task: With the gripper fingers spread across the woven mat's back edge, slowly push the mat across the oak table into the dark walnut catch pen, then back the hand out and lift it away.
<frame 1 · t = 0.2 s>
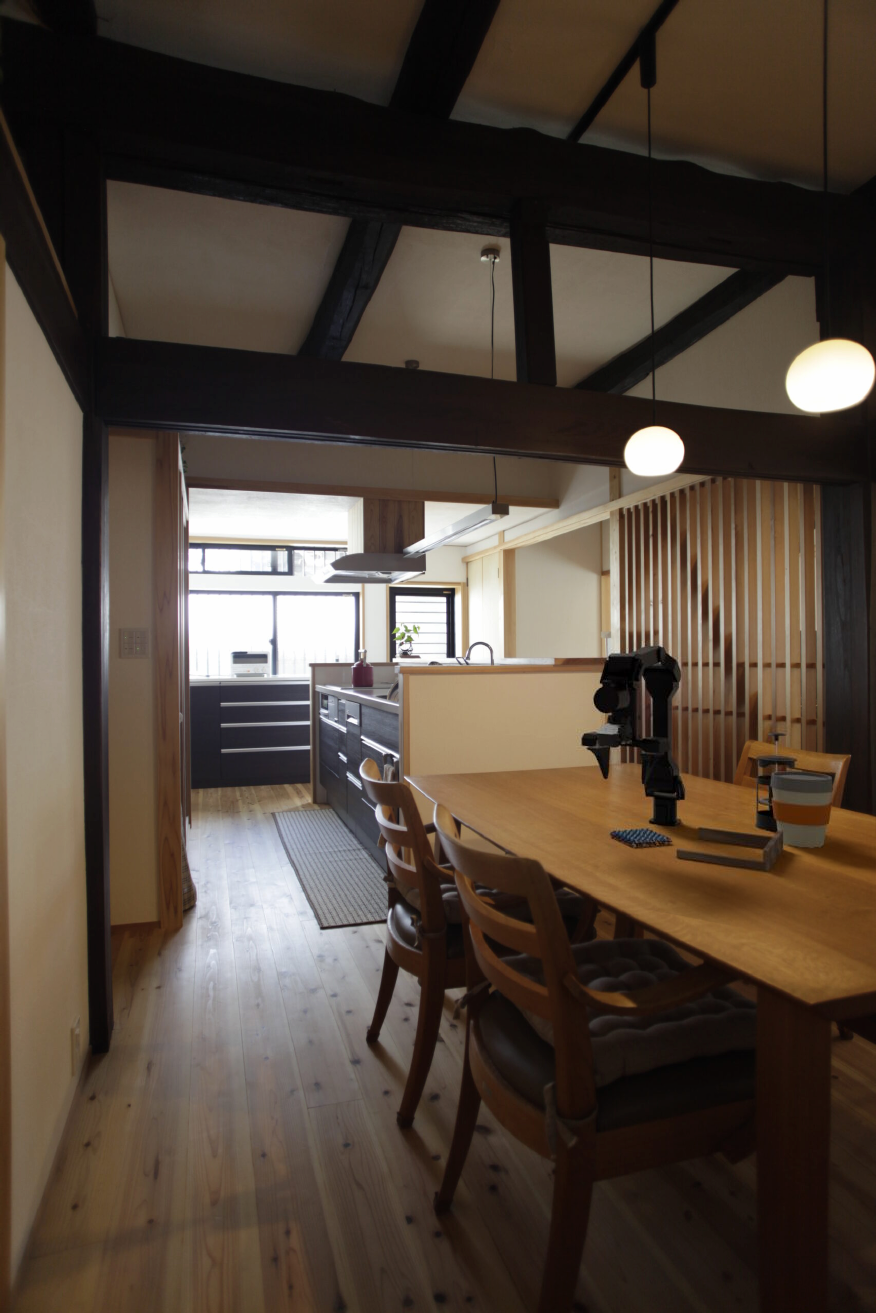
hand: (624, 781, 159), 14 cm above the table, tool pointing down, fingers open, 9 cm apart
reusable coffee cup: (801, 843, 162), on the table
woven mat: (640, 843, 164), on the table
french press: (776, 827, 177), on the table
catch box: (727, 852, 153), on the table
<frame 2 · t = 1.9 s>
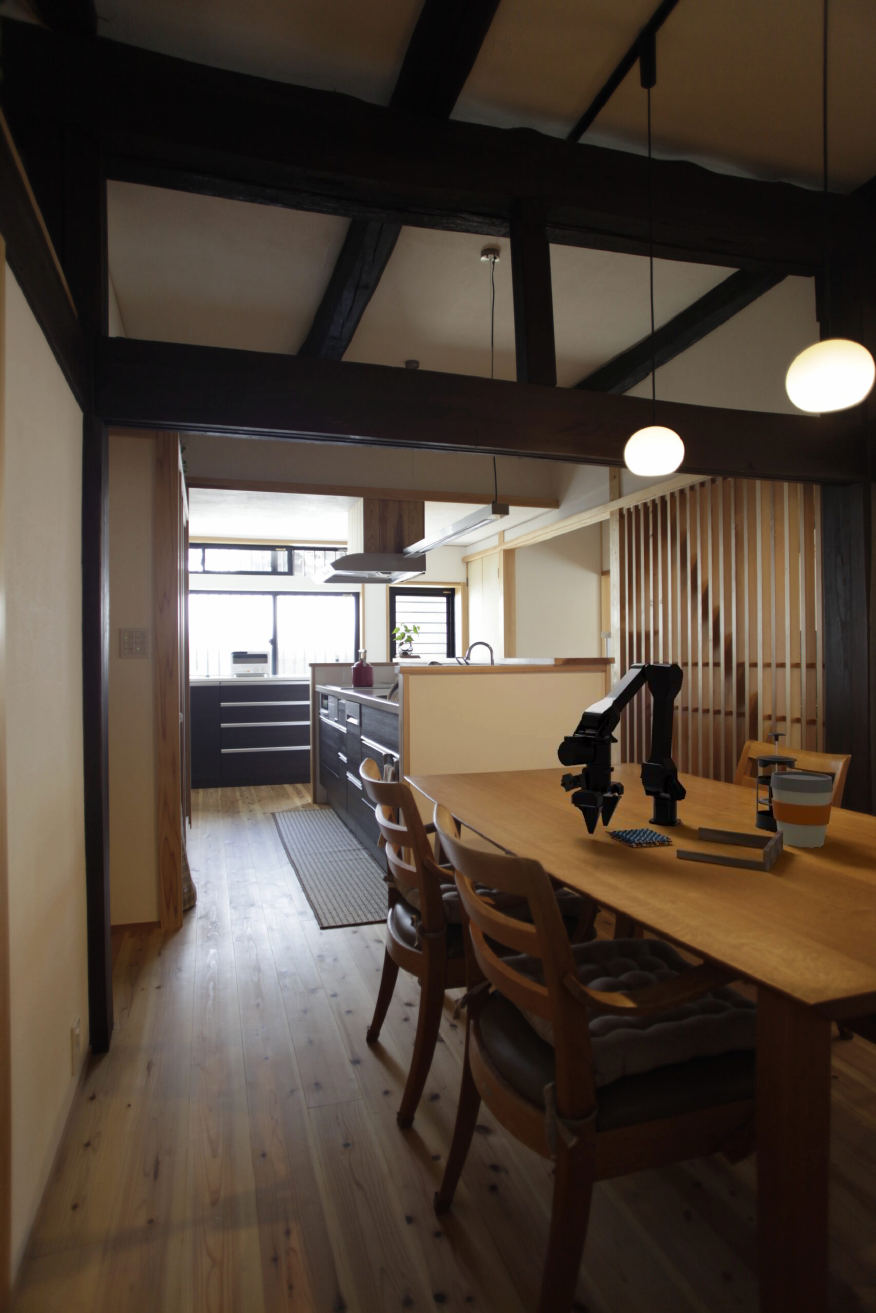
hand: (598, 829, 169), 1 cm above the table, tool pointing down, fingers open, 9 cm apart
nothing on the table moved.
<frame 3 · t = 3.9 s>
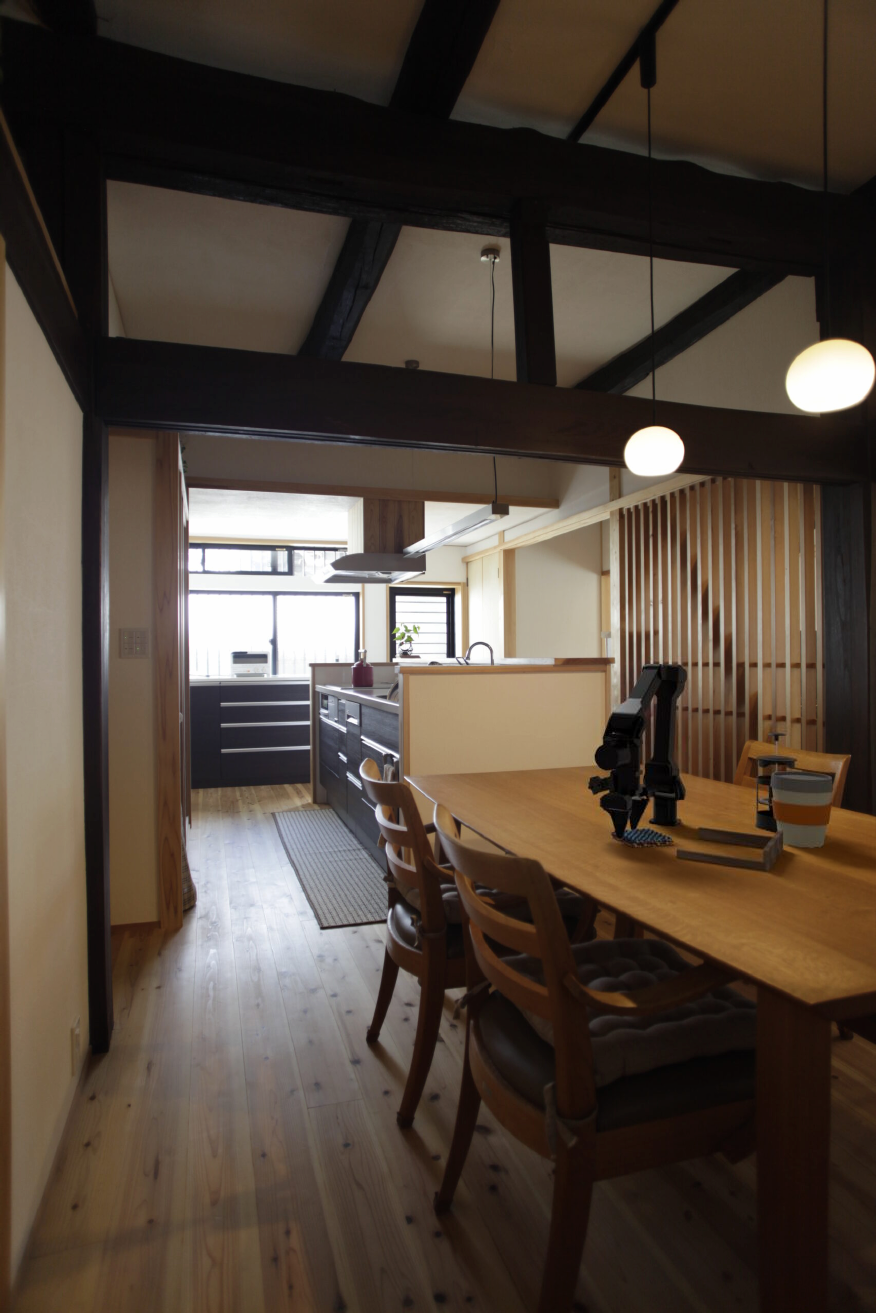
hand: (626, 833, 165), 1 cm above the table, tool pointing down, fingers open, 9 cm apart
woven mat: (641, 843, 163), on the table, touching gripper
everything else where it was.
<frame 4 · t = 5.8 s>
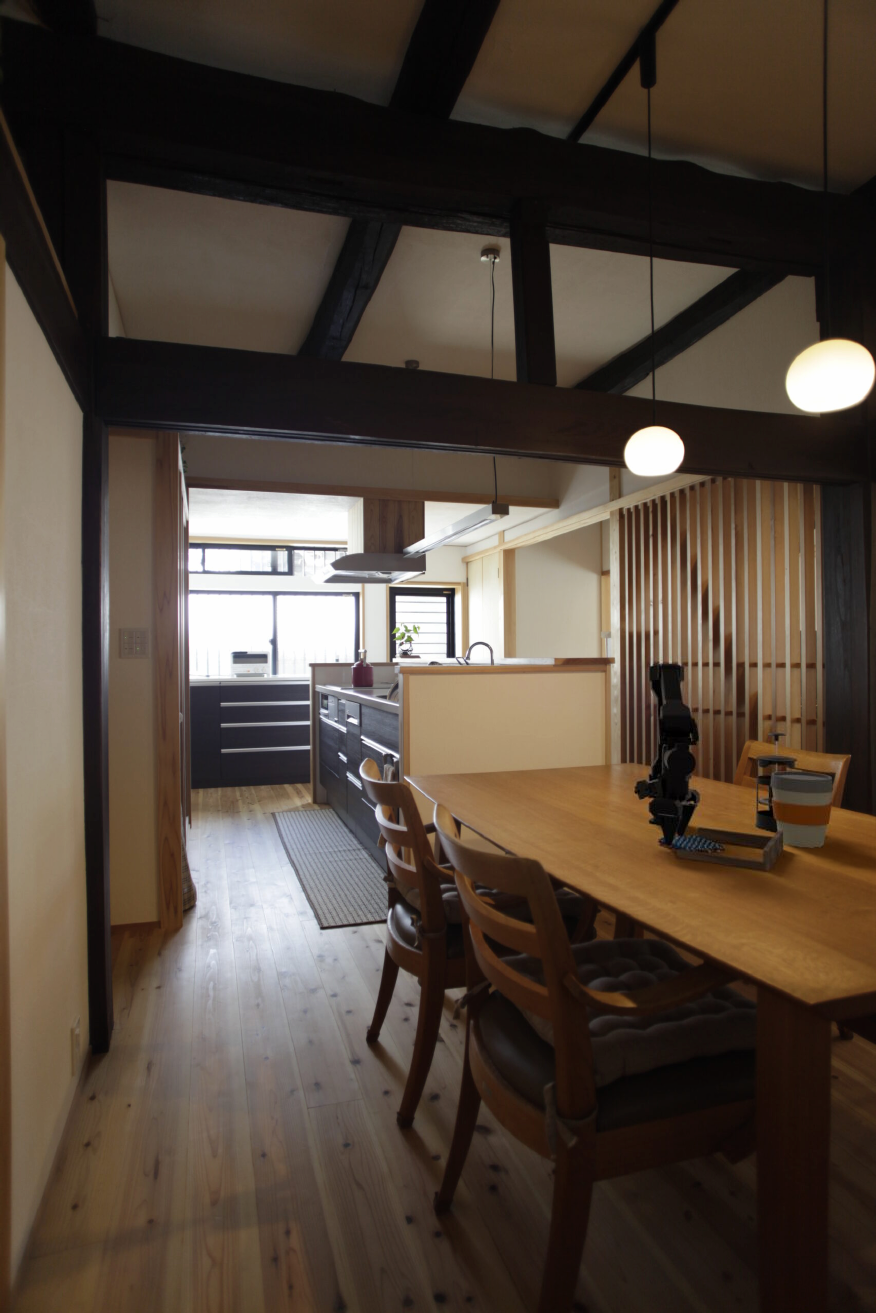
hand: (674, 840, 159), 1 cm above the table, tool pointing down, fingers open, 9 cm apart
woven mat: (690, 851, 157), on the table, touching gripper
everything else where it was.
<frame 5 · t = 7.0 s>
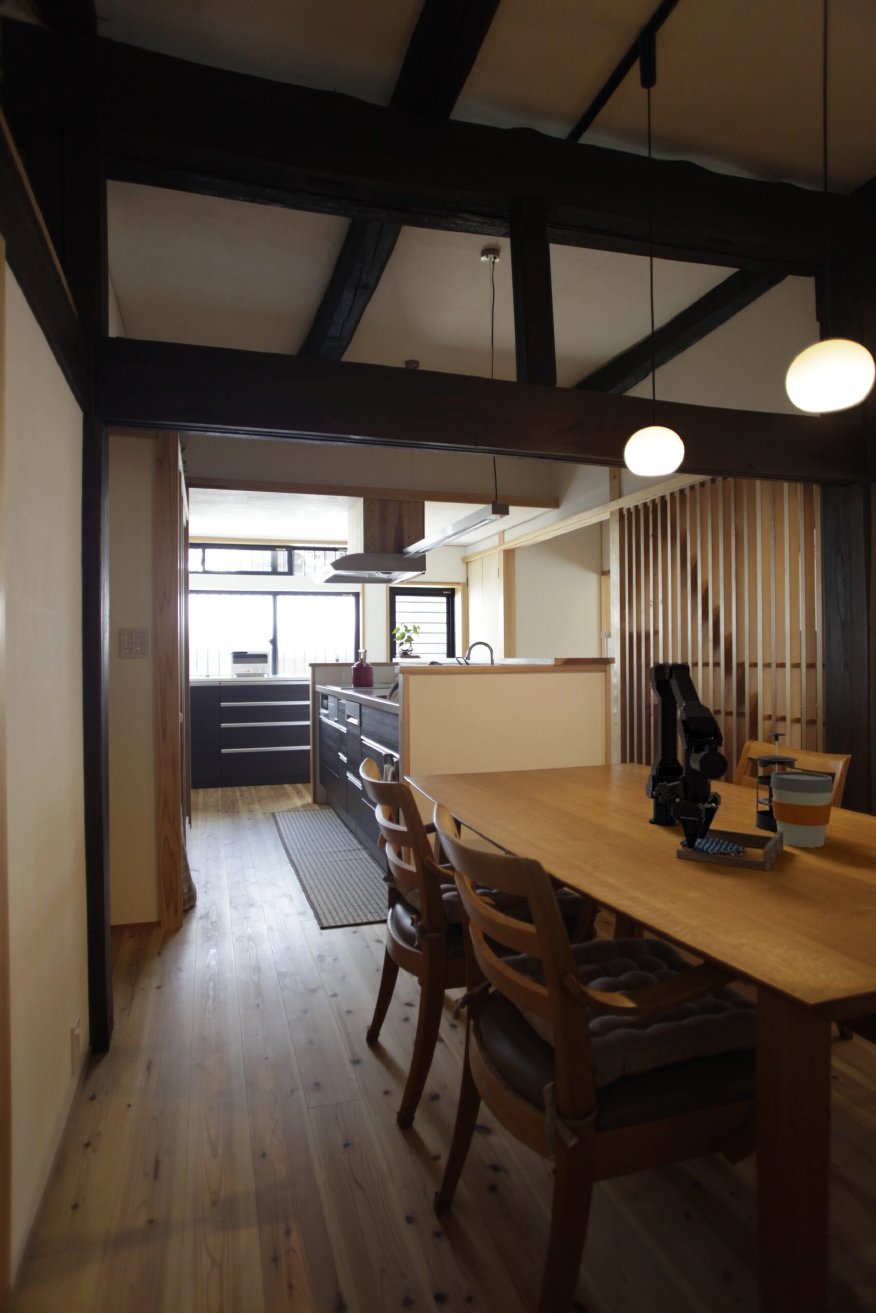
hand: (696, 843, 157), 1 cm above the table, tool pointing down, fingers open, 9 cm apart
woven mat: (713, 853, 155), on the table, touching gripper
everything else where it was.
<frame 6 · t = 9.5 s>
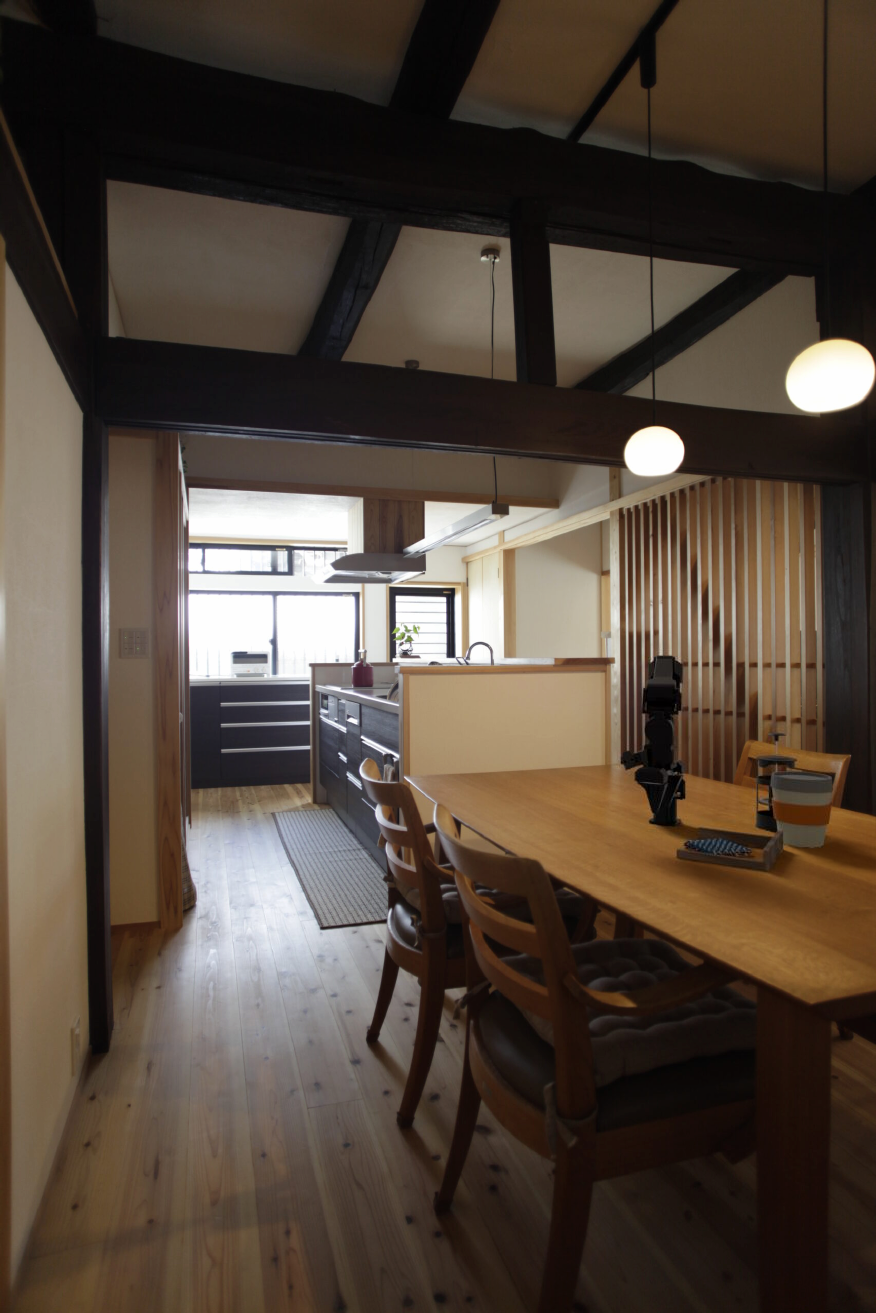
hand: (660, 809, 161), 8 cm above the table, tool pointing down, fingers open, 9 cm apart
woven mat: (717, 854, 155), on the table
everything else where it was.
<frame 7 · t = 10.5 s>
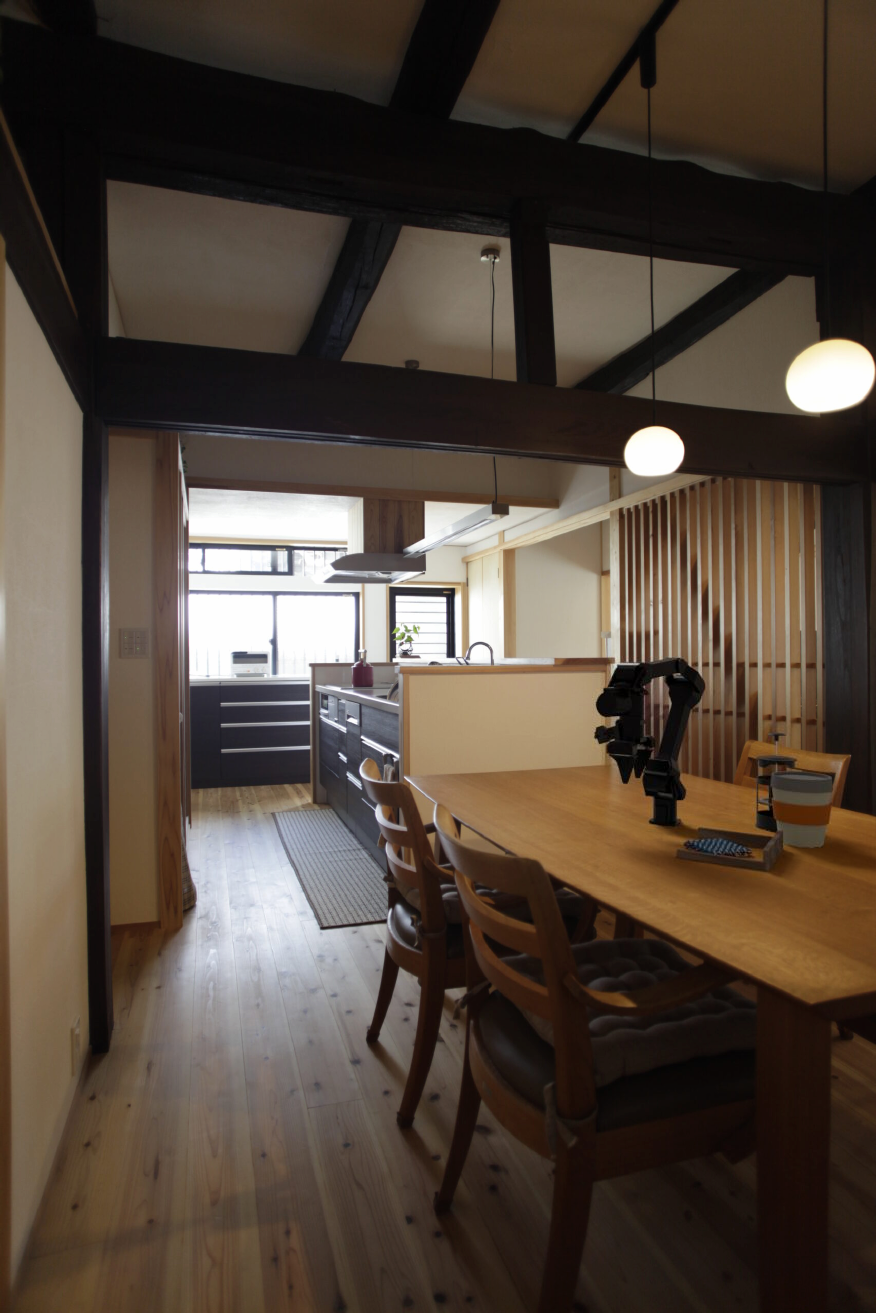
hand: (631, 780, 172), 12 cm above the table, tool pointing down, fingers open, 9 cm apart
nothing on the table moved.
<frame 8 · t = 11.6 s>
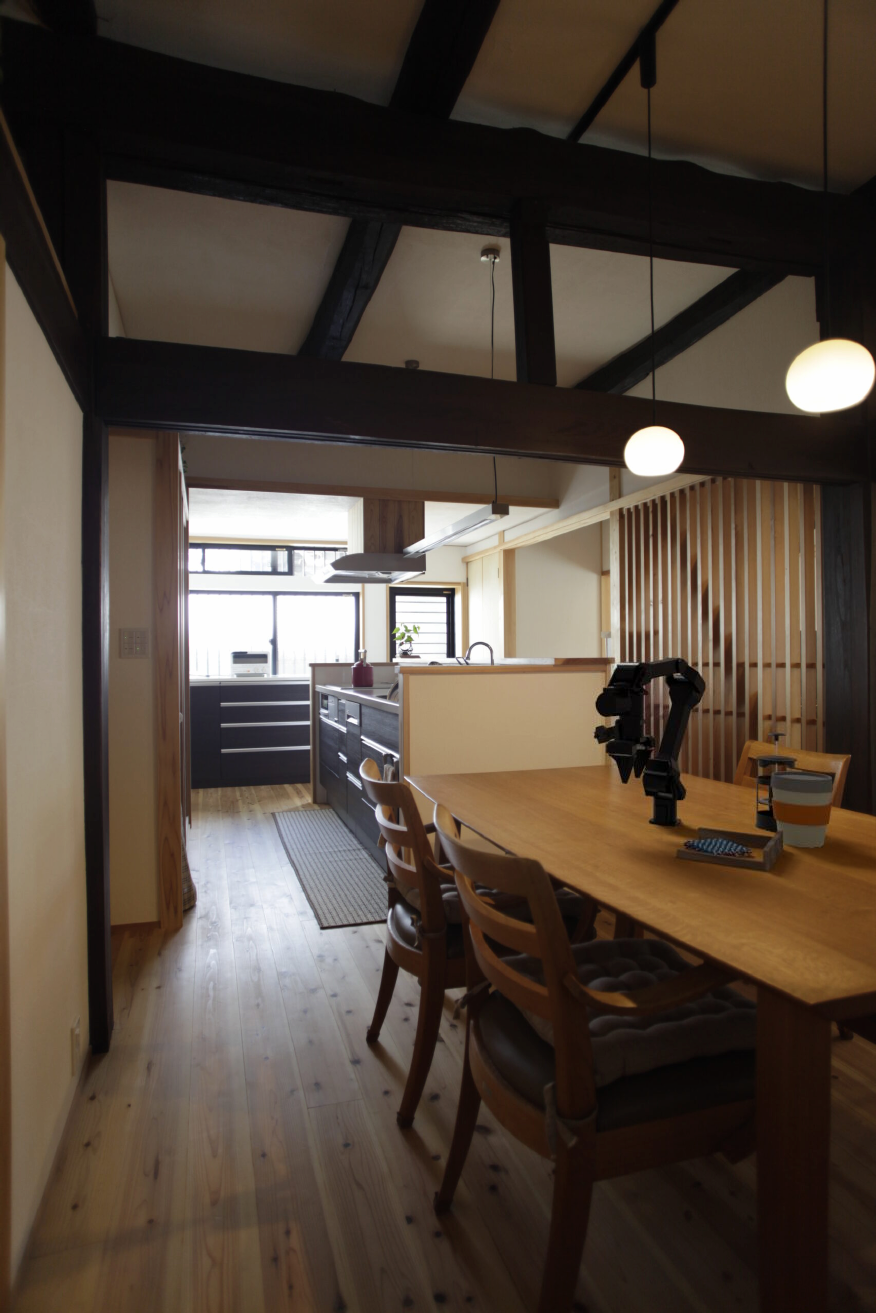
hand: (631, 780, 172), 12 cm above the table, tool pointing down, fingers open, 9 cm apart
nothing on the table moved.
at the end: woven mat inside the target area on the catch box (2.5 cm from its centre), point -0.7 cm above the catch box's base; woven mat moved 16.5 cm from its start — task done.
